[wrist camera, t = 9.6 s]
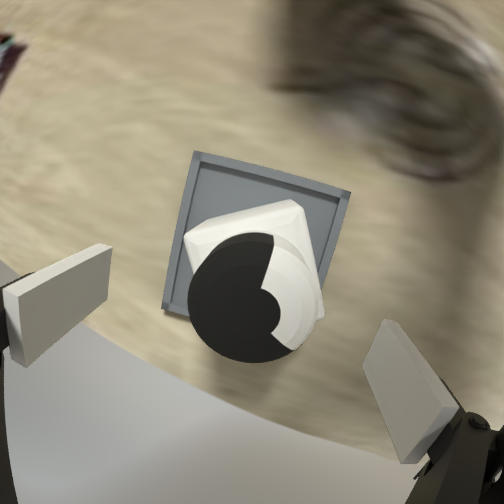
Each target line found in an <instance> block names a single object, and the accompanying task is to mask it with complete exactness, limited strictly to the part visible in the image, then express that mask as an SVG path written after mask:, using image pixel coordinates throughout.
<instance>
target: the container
mask: <svg viewBox="0 0 504 504" xmlns="http://www.w3.org/2000/svg"><path fill="white" fill-rule="evenodd" d="M184 243H185V247H186V250H187V254H188V257H189V260H190V264H191V267H192V270H193V274H194V275H193V278H192V280H191V283H190V286H189V290H188V298H187V304H188V312H189V317H190V320H191V322H192V325H193V327H194V329H195V330H196V332H197V334H198V335H199V336H200V338H201V339H202V340H203V341H204V342H205V343H206V344H207V345H208V346H209V347H210V348H212V349H213V350H214V351H216V352H217V353H219V354H221V355H222V356H225V357H227V358H229V359H232V360H236V361H240V362H246V363H263V362H268V361H273V360H276V359H279V358H281V357H284V356H286V355H288V354H289V353H291V352H292V351H294V350H295V349H297V348H298V347H299V346H300V345H301V344H302V343H303V342H304V341H305V340H306V339H307V337H308V336H309V334H310V333H311V331H312V329H313V327H314V325H315V323H316V321H319V320H322V319H323V318H324V316H325V310H324V305H323V300H322V294H321V289H320V284H319V279H318V273H317V268H316V264H315V259H314V254H313V249H312V244H311V240H310V235H309V230H308V226H307V221H306V217H305V212H304V209H303V207H301V206H300V205H298V204H297V203H296V202H294V201H293V200H291V199H288V200H283V201H279V202H275V203H271V204H267V205H262V206H258V207H254V208H250V209H246V210H242V211H238V212H234V213H230V214H226V215H222V216H218V217H214V218H210V219H207V220H206V221H204V222H202V223H201V224H199V225H198V226H196V227H195V228H193V229H192V230H190V231H189V232H187V233H185V235H184Z"/></svg>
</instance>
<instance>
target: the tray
mask: <svg viewBox="0 0 504 504" xmlns="http://www.w3.org/2000/svg"><path fill="white" fill-rule="evenodd" d="M350 194H351V192H349V191H346V190H343V189H340V188H336V187H333V186H330V185H327V184H323V183H320V182H317V181H313V180H310V179H306V178H303V177H299V176H296V175H292V174H289V173H285V172H281V171H278V170H274V169H270V168H266V167H262V166H259V165H255V164H251V163H247V162H243V161H238V160H234V159H230V158H226V157H221V156H217V155H213V154H208V153H204V152H199V151H194V152H193V156H192V160H191V164H190V168H189V172H188V176H187V181H186V185H185V189H184V193H183V198H182V202H181V207H180V211H179V216H178V220H177V225H176V230H175V235H174V240H173V245H172V250H171V255H170V260H169V266H168V271H167V277H166V282H165V288H164V294H163V300H162V306H161V309H164V310H168V311H171V312H174V313H178V314H181V315H185V316H188V317H189V312H188V304H187V298H188V290H189V286H190V283H191V280H192V278H193V275H194V274H193V270H192V267H191V264H190V260H189V257H188V254H187V250H186V247H185V243H184V235H185V233H187V232H189V231H190V230H192V229H193V228H195V227H196V226H198V225H199V224H201V223H202V222H204V221H206V220H207V219H210V218H214V217H218V216H222V215H226V214H230V213H234V212H238V211H242V210H246V209H250V208H254V207H258V206H262V205H267V204H271V203H275V202H279V201H283V200H288V199H291V200H293V201H294V202H296V203H297V204H298V205H300V206H301V207H303V209H304V212H305V217H306V221H307V226H308V230H309V235H310V240H311V244H312V249H313V254H314V259H315V264H316V268H317V273H318V279H319V284H320V289H322V286H323V283H324V280H325V277H326V274H327V271H328V268H329V265H330V262H331V259H332V256H333V252H334V249H335V246H336V243H337V239H338V236H339V233H340V229H341V226H342V223H343V219H344V216H345V212H346V209H347V205H348V202H349V198H350ZM301 345H302V344H301Z"/></svg>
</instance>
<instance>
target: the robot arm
mask: <svg viewBox="0 0 504 504" xmlns="http://www.w3.org/2000/svg"><path fill="white" fill-rule="evenodd" d="M111 255H112V247H110V246H107V245H104V244H101V243H98V244H96V245H94V246H91V247H89V248H87V249H85V250H82V251H80V252H78V253H76V254H73V255H71V256H69V257H67V258H65V259H63V260H60V261H58V262H56V263H54V264H52V265H50V266H48V267H46V268H43V269H41V270H39V271H37V272H33V273H28V274H26V275H24V276H22V277H20V279H19V278H18V279H16V280H14V281H13V282H10V283H8V284H6V285H4V286H2V287H0V504H18V501H17V497H16V492H15V487H14V482H13V477H12V472H11V466H10V459H9V452H8V445H7V435H6V424H5V411H4V410H5V409H4V355H3V350H4V349H5V348H6V347H8V346H9V348H10V354H11V359H12V360H14V361H15V362H17V363H19V364H20V365H22V366H23V367H25V368H27V367H28V366H29V365H30V364H32V363H33V362H34V361H35V360H36V359H37V358H38V357H40V355H42V354H43V353H44V352H45V351H46V350H47V349H49V348H50V347H51V346H52V345H53V344H54V343H56V342H57V341H58V340H59V339H60V338H61V337H63V336H64V335H65V334H66V333H67V332H68V331H70V330H71V329H72V328H73V327H74V326H76V325H77V324H78V323H79V322H80V321H82V320H83V319H84V318H85V317H86V316H88V315H89V314H90V313H91V312H92V311H94V310H95V309H96V308H97V307H99V306H100V305H101V304H102V303H103V302H105V301H106V300H107V295H108V283H109V273H110V264H111ZM362 368H363V370H364V373H365V375H366V378H367V380H368V382H369V385H370V387H371V389H372V392H373V394H374V397H375V399H376V402H377V404H378V407H379V409H380V411H381V414H382V416H383V419H384V422H385V424H386V427H387V429H388V432H389V434H390V437H391V439H392V442H393V445H394V447H395V450H396V453H397V455H398V458H399V461H400V463H401V464H415V463H418V462H419V461H420V460H421V458H422V457H423V456H424V455H425V454H426V452H427V453H428V455H429V458H430V460H429V461H428V462H427V463H426V464H425V466H424V467H423V468H422V469H421V470H420V471H419V472H418V473H417V475H416V476H415V477H414V478H413V479H416V478H417V477H419V478H418V480H417V482H416V484H415V486H414V488H413V490H412V491H411V493H410V495H409V497H408V499H407V501H406V503H405V504H504V425H503V427H502V428H501V429H500V431H495V430H491V429H490V425H489V423H488V422H487V421H486V420H485V419H484V418H483V417H482V416H480V415H478V414H476V413H473V412H467V413H466V412H465V411H464V409H463V408H462V406H461V405H460V403H459V402H458V401H457V399H456V398H455V396H453V393H452V392H451V391H450V390H449V388H448V386H447V385H446V384H445V382H444V381H443V380H442V379H441V378H440V377H438V376H437V374H436V373H435V372H434V370H433V369H432V368H431V366H430V365H429V364H428V362H427V361H426V360H425V358H424V357H423V355H422V354H421V353H420V351H419V350H418V349H417V348H416V346H415V345H414V344H413V342H412V341H411V340H410V338H409V337H408V336H407V334H406V333H405V332H404V331H403V329H402V328H401V327H400V325H399V324H398V323H397V322H396V321H392V320H388V319H383V320H382V323H381V325H380V327H379V330H378V332H377V334H376V336H375V339H374V341H373V343H372V345H371V347H370V350H369V352H368V354H367V356H366V358H365V360H364V362H363V364H362ZM501 470H502V473H501V476H500V478H499V479H498V481H496V482H495V477H496V476H497V474H498V473H499V472H500V471H501Z"/></svg>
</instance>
